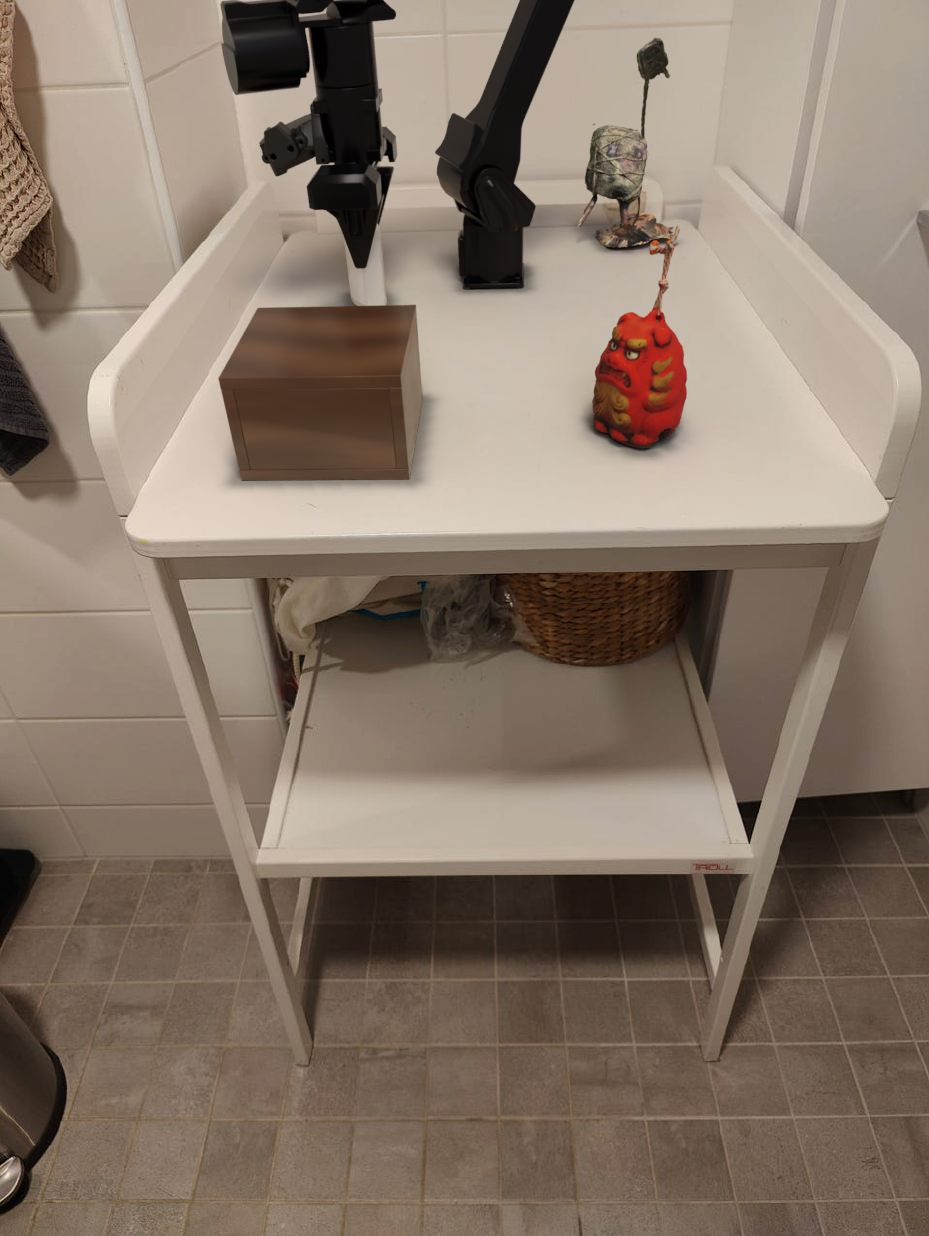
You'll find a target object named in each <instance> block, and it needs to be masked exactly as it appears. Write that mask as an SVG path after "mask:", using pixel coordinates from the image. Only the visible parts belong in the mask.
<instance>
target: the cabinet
mask: <svg viewBox="0 0 929 1236" xmlns="http://www.w3.org/2000/svg"><path fill="white" fill-rule="evenodd" d="M419 343H420V342H419V327H418V313H417V305H416V304H390V305H389V304H387V305H383V306H357V305H334V306H331V305H330V306H329V305H328V306H284V307H283V306H282V307H280V306H279V307H277V306H276V307H275V306H274V307H257V308H256V310H255V312H254V313H253V316H252V317H251V319H250V321H249V323H248V325H247V326H246V328H245V330H244V332H243V333H242V335H241V337H240V339H239V341H238V342H237V344H236V346H235V348H234V349H233V352H232V353H231V354H230V356H229V359H228V360H227V361H226V364H225V366H224V367H223V369H222V371H221V373H220V374H219V376H218V378H217V379H218V383H219V387H220V391H221V397H222V400H223V404H224V405H223V406H224V409H225V414H226V417H227V418H226V419H227V423H228V427H229V431H230V436H231V440H232V444H233V449H234V453H235V458H236V463H237V467H238V470H239V471H238V472H239V476H240V480H241V481H308V480H309V481H313V480H314V481H316V480H317V481H319V480H320V481H321V480H327V481H328V480H331V481H333V480H409V479H410V477H411V472H412V465H413V460H414V459H413V458H414V455H415V448H416V443H417V435H418V429H419V423H420V419H421V418H420V417H421V411H422V407H423V406H422V404H423V385H422V373H421V356H420V345H419Z"/></svg>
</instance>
